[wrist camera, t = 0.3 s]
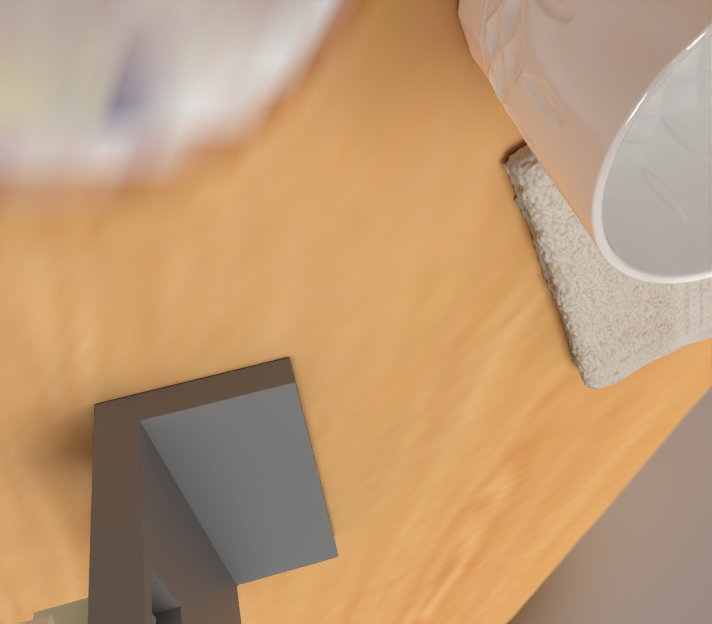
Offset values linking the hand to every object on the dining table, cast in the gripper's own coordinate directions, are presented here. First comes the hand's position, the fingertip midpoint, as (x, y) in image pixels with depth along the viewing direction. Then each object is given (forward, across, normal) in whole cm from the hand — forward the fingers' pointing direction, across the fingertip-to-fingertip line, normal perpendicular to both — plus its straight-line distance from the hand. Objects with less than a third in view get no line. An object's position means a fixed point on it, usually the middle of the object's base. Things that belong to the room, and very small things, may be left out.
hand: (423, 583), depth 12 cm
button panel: (+24, -6, -9) cm, 27 cm away
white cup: (+11, +9, +12) cm, 19 cm away
